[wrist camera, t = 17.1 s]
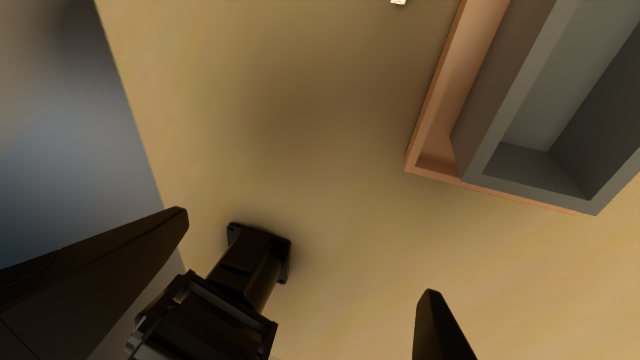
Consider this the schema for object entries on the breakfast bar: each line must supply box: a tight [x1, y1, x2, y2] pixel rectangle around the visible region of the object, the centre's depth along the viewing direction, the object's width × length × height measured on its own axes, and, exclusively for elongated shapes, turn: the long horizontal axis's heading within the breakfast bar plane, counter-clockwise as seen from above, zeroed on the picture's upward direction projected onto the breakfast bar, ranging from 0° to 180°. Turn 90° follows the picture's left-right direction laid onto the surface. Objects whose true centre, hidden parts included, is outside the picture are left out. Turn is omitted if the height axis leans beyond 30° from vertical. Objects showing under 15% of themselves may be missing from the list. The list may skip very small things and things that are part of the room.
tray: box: [403, 0, 578, 216], centre depth 12 cm, size 15×9×2 cm, turn 173°
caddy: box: [449, 0, 640, 216], centre depth 11 cm, size 11×5×5 cm, turn 173°
